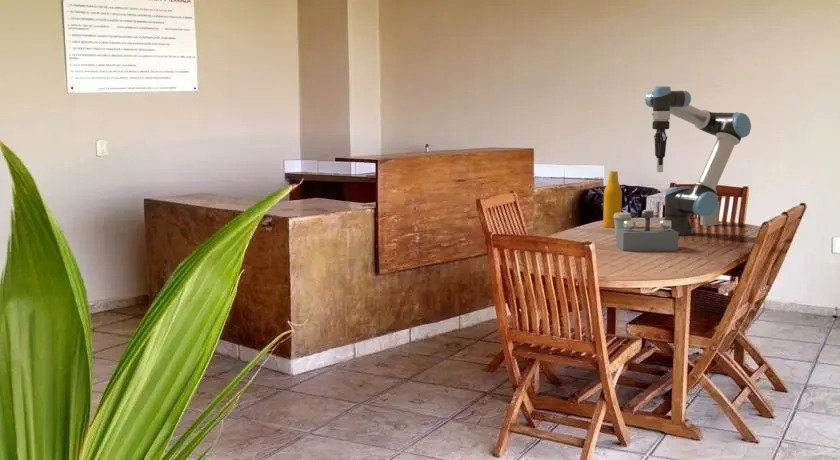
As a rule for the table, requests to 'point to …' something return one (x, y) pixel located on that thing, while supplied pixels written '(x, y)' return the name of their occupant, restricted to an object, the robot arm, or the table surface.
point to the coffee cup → (621, 220)
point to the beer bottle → (612, 199)
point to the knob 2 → (665, 224)
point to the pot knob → (647, 218)
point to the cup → (711, 218)
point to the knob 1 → (629, 225)
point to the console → (647, 240)
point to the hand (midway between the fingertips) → (659, 172)
